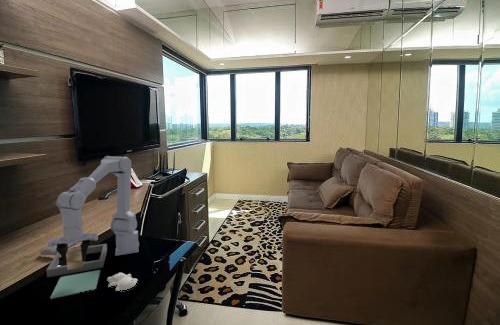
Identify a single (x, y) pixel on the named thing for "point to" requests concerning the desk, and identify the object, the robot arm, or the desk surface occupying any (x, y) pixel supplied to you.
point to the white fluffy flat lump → (122, 281)
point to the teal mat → (76, 284)
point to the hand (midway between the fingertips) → (75, 261)
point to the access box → (90, 265)
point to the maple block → (74, 258)
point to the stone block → (53, 250)
